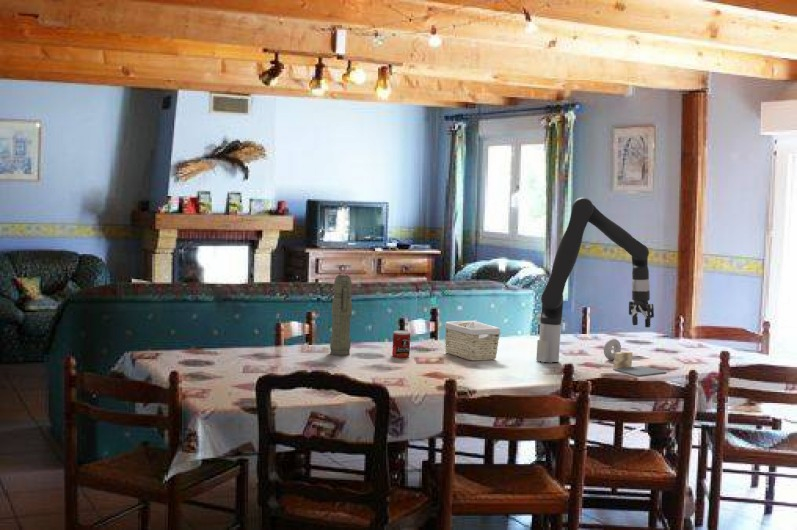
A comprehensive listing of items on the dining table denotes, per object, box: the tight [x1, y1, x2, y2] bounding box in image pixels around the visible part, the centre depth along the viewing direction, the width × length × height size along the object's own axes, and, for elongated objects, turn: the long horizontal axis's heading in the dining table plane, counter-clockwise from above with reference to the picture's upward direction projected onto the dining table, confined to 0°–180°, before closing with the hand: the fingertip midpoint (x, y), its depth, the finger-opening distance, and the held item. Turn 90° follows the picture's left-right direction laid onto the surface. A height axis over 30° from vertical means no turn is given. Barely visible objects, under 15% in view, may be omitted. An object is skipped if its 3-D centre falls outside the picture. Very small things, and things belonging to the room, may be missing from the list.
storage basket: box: [444, 320, 502, 362], centre depth 448 cm, size 24×16×15 cm
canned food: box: [391, 330, 411, 359], centre depth 439 cm, size 8×8×11 cm
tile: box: [613, 351, 633, 369], centre depth 437 cm, size 9×2×7 cm, turn 125°
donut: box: [603, 338, 622, 361], centre depth 456 cm, size 10×4×10 cm, turn 125°
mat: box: [612, 365, 667, 377], centre depth 430 cm, size 18×14×1 cm
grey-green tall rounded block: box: [329, 274, 353, 357], centre depth 437 cm, size 9×12×35 cm
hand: (641, 326), depth 436 cm, fingers open, 8 cm apart
